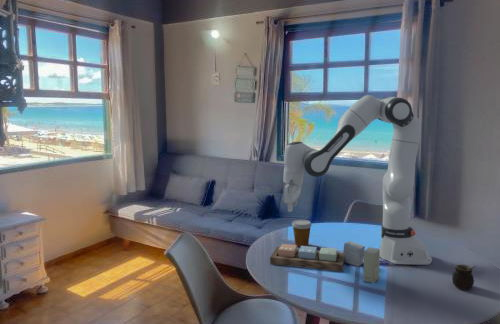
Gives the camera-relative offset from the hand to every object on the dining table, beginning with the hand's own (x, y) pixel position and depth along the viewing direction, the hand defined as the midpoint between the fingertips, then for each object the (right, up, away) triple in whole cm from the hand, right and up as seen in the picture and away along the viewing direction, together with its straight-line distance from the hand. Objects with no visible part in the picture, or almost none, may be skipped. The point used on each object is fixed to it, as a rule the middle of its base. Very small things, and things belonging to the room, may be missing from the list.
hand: (292, 208), depth 172 cm
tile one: (+15, -21, -4) cm, 26 cm away
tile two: (+7, -21, -1) cm, 22 cm away
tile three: (-2, -21, +1) cm, 21 cm away
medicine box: (+26, -24, -3) cm, 35 cm away
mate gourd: (+61, -27, -28) cm, 72 cm away
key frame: (+7, -23, -1) cm, 24 cm away
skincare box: (+29, -26, -19) cm, 44 cm away
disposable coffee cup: (+7, -21, +19) cm, 29 cm away
